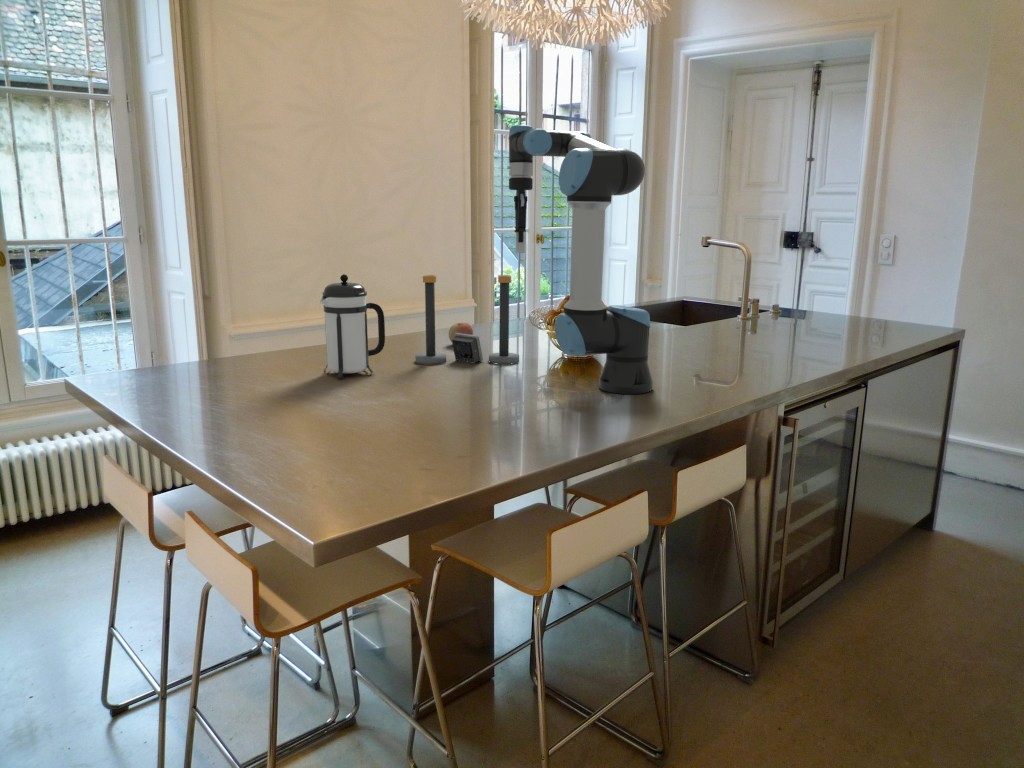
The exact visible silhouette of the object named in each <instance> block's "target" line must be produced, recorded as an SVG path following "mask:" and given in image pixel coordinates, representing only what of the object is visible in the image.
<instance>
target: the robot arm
mask: <svg viewBox="0 0 1024 768" xmlns="http://www.w3.org/2000/svg"><path fill="white" fill-rule="evenodd" d="M534 157H557V158H558V157H561V158H563V160H562V162H561V165H560V169H559V173H558V186H559V190H560V192H561V193H562V194H563V195H564V196H566V203H567V204H568V205H569V206H570V208H571V209H572V212H571V214H572V215H571V243H570V244H571V245H570V250H571V251H570V271H569V272H570V273H569V274H570V275H569V300H567V302H566V303H564V305H563V312H560V313H559V314H558V315H556V319H555V322H554V333H555V338H556V342H557V344H558V346H559V348H560V349H561V351H562V352H563V353H564V354H565V355H567V356H569V357H573V356H577V357H578V356H579V357H584V356H593V355H605V354H606V356H605V357H606V358H605V363H604V365H603V369H602V370H601V374H600V376H599V378H598V387H599V389H600V390H602V391H604V392H606V393H607V392H608V393H613V394H618V395H619V394H620V395H621V394H622V395H639V394H641V393H642V394H647V393H650V392H651V390H653V389H654V387H653V386H654V380H653V377H652V373H651V369H650V366H649V362H648V361H649V359H648V358H649V345H650V330H651V317H650V316H651V314H650V313H649V311H647V310H646V309H642V308H638V307H632V306H627V305H625V306H624V305H616V304H615V305H614V304H612V305H608V308H607V305H606V304H605V303H604V302H603V301H602V298H603V297H602V295H603V293H602V292H603V271H604V269H603V268H604V249H605V248H604V246H605V227H606V226H605V225H606V224H605V223H606V209H607V208H608V207H609V206H610V205H611V204H612V198H613V196H624V195H628V194H630V193H632V192H634V191H635V190H636V189H638V188H639V187H640V185H641V183H643V180H644V178H645V175H646V174H645V172H646V167H645V163H644V160H643V159H642V157H641V156H640V155H639V154H638V153H636V152H635V151H633V150H629V149H627V148H618V149H617V148H614V147H612V146H609V145H607V144H604V143H602V142H601V141H597V140H595V139H593V138H592V136H591V134H590V133H589V132H583V131H579V130H577V131H571V130H570V131H569V130H568V131H567V130H549V129H548V130H547V129H544V128H533V126H532V125H529V124H528V125H526V124H517V125H511V126H510V127H509V133H508V166H507V167H506V168H507V170H508V175H509V178H508V189H509V190H511V191H516V192H515V195H514V196H513V201H514V210H515V211H514V212H515V213H514V215H515V217H514V220H515V222H514V223H515V224H514V225H515V227H514V233H515V253H516V254H525V252H526V251H525V247H526V245H525V244H526V243H525V240H526V239H525V238H526V237H525V235H526V232H527V228H526V225H527V224H526V223H527V222H526V221H527V209H528V208H527V203H528V195H526V191H532V190H533V186H534V185H533V183H534V182H533V180H534V179H533V175H534ZM649 391H650V392H649Z"/></svg>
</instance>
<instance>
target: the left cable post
mask: <svg viewBox="0 0 1024 768" xmlns="http://www.w3.org/2000/svg"><path fill="white" fill-rule="evenodd" d="M436 282H437V275H436V274H422V283H424V296H425V297H424V299H425V300H424V302H425V304H424V305H425V308H424V309H425V311H424V313H425V344H426V345H425V352H422V353H416V355H415V356H414V357H415V363H416V364H418V365H423V364H424V365H426V366H434V365H436V364H437V365H442V363H443V364H445V363H446V362H447V354H446V353H442V352H436V304H435V302H436V300H435V299H436V298H435V295H436V294H435V291H436V290H435V283H436ZM437 365H436V366H437Z"/></svg>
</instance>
